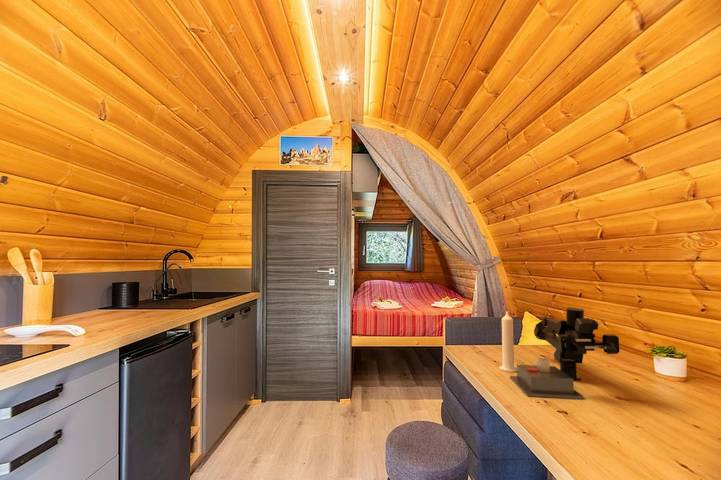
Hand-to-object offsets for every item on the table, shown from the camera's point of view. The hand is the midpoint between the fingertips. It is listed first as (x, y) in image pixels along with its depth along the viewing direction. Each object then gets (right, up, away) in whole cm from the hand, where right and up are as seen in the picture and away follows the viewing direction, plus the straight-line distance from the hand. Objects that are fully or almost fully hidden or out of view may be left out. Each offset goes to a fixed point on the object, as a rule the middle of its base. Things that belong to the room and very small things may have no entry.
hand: (601, 352), depth 111 cm
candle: (-16, -19, +33) cm, 41 cm away
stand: (-12, -17, +12) cm, 24 cm away
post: (-12, -16, +12) cm, 23 cm away
